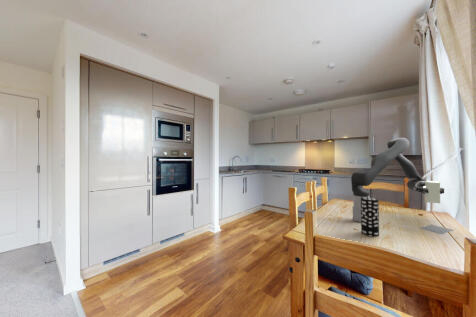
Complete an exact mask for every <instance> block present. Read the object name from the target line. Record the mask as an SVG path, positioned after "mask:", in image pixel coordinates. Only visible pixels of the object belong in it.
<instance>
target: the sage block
mask: <svg viewBox="0 0 476 317" xmlns="http://www.w3.org/2000/svg"><path fill="white" fill-rule="evenodd" d="M425 188H426V189H428V193H425V194H424V197H425V198H424V199H425V202H426V203H430V204H441V194H440V188H441V182H439V181H436V180H435V181H433V180H425Z"/></svg>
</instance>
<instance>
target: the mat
mask: <svg viewBox="0 0 476 317" xmlns="http://www.w3.org/2000/svg"><path fill="white" fill-rule="evenodd" d="M419 229H421V230H424V231H428V232H431V233H436V234H439V235H443V234H446V233H450V232H452V231H454V229H451V228H447V227H443V226H439V225H435V224H430V225H428V224H427V225H426V226H421V227H419Z"/></svg>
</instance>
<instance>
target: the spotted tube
mask: <svg viewBox="0 0 476 317" xmlns="http://www.w3.org/2000/svg"><path fill="white" fill-rule="evenodd" d="M379 202H380V201H379V198H376V197H370V196H369V197H361V222H360V227H361V228H360V229H361V230H360V233H361V234H362V235H364V236H368V237H372V238H373V237H375V238H376V237H379V236H380V216H379V215H380V209H379V208H380V207H379V204H380V203H379Z"/></svg>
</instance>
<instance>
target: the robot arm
mask: <svg viewBox="0 0 476 317" xmlns="http://www.w3.org/2000/svg"><path fill="white" fill-rule="evenodd" d="M386 145H387V148H388V149H386V150H383V151H382V152H380V153H378V154H377V155H375V156H374V158H372V159H371V163H370V165H371V166H370V168H369V169H368V170H367V171H365V172H363V171H354V172H353V173H352V175H351V178H350V180H351V183H350V184H351V190H352V193H353V194H352V200H353V201H352V203H353V204H352V205H353V206H352V221H355V222H358V223H361V197H370V191H369V190H366V188H364V187H369V186H370V185H371V184H372V183H373V182H374V181H375V179H377V177H378V176H379V175H380V173H381V172H383V170H385V169H386V168H387V167H388V166H389V165H390V164H391V163H392V162H393V161H394V160H396V161H397V162H398V164H399V166H400V168H401V169H402V171H403V173H404V175H405V177H406V178H409V179H411V180H409V181H407V182H406V186H407V188H408V189H409V190H410V191H415V192H419V193H421V194H424V195H425V193H428V189H426V188H425V181H426V180H425V179H424V178H423V177H422V176H421V175H420V174H419V172H418V170H417V169H416V167H415V164H414V163H413V162H412V161H410V159H408V158H406V157H405V156H404V155H403V154H402V153H403V152H405V151H407V149H408V148H409V146H410V141H409V140H408V139H407V138H405V137H398V138H395V139H390V140H388V142H387V143H386ZM412 178H415V179H412ZM442 194H445V187H440V195H442Z"/></svg>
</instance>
